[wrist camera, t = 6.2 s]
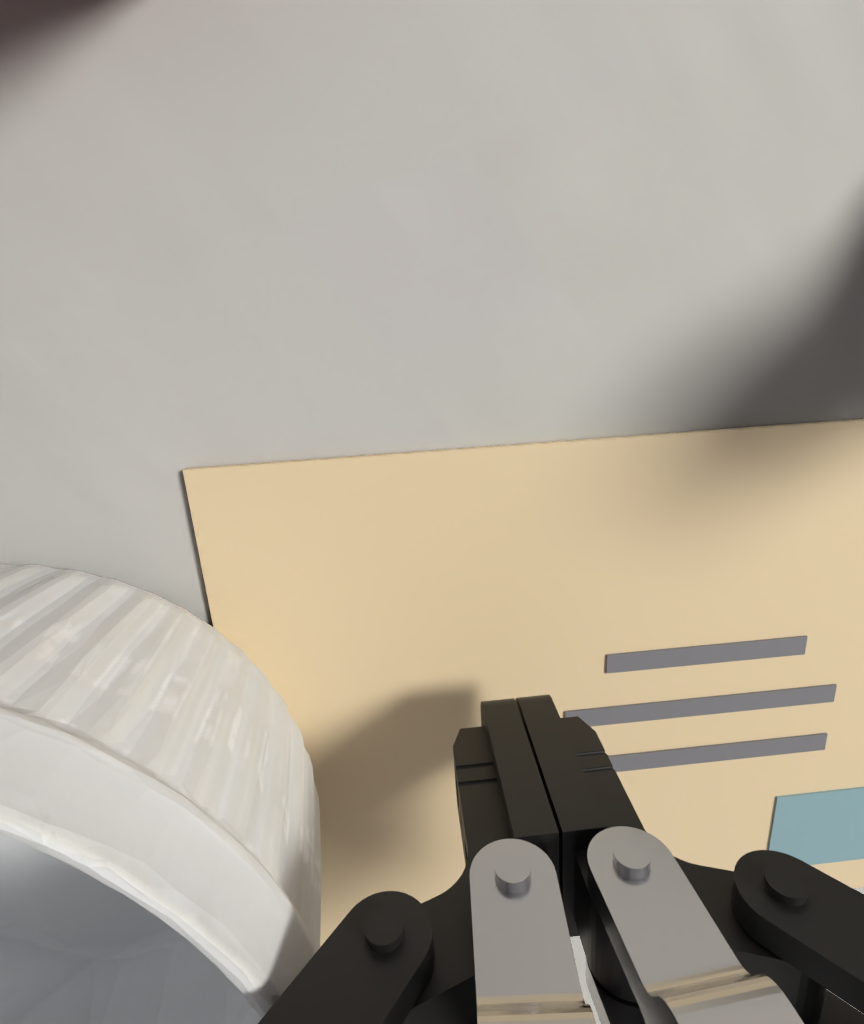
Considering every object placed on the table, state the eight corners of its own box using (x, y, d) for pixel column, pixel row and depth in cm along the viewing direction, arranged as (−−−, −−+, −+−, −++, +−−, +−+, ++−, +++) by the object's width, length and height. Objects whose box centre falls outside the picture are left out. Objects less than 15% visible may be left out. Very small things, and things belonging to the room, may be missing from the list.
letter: (184, 468, 12) (181, 470, 12) (1006, 408, 13) (1016, 409, 13) (279, 952, 17) (277, 960, 16) (888, 878, 18) (894, 885, 17)
